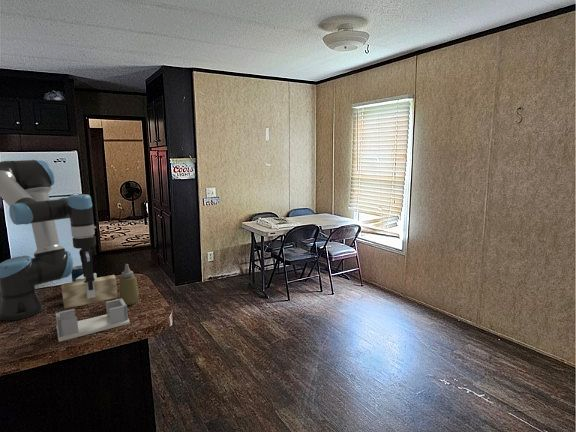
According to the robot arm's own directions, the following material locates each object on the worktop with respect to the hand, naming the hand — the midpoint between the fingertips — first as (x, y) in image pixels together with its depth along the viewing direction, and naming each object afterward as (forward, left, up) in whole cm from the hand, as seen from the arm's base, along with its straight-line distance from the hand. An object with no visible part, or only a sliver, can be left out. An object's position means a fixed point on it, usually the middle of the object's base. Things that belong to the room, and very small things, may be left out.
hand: (90, 295), depth 139 cm
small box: (-20, +27, -13) cm, 36 cm away
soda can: (-28, +34, -13) cm, 46 cm away
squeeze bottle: (+3, +22, -13) cm, 26 cm away
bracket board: (0, 0, -13) cm, 13 cm away
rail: (0, 0, -2) cm, 2 cm away
